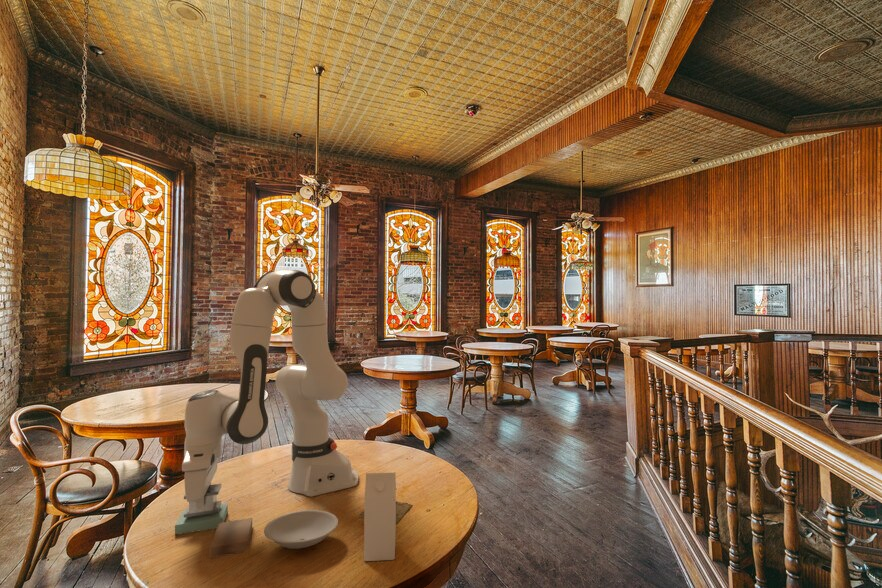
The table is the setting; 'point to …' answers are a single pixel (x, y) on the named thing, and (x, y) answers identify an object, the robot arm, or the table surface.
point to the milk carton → (379, 516)
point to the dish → (301, 528)
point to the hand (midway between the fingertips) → (203, 502)
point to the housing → (210, 503)
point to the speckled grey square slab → (400, 511)
